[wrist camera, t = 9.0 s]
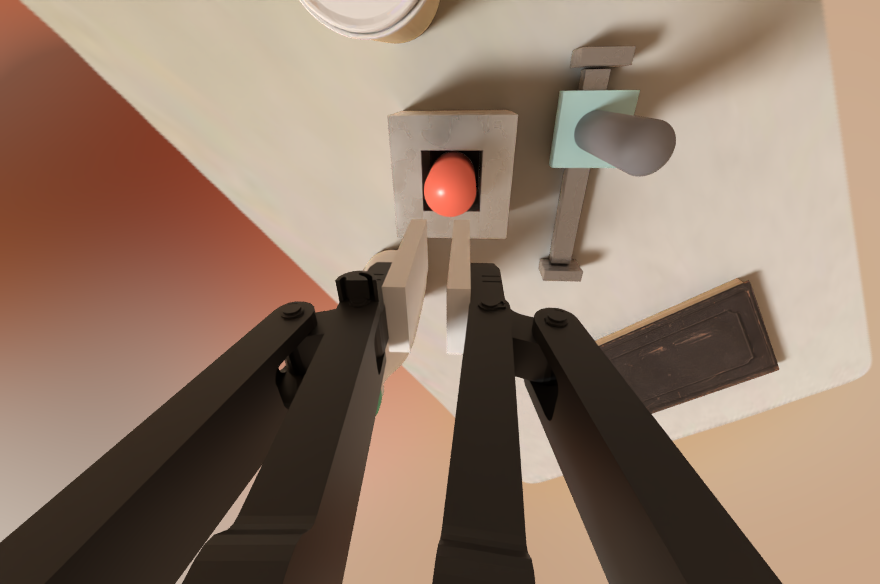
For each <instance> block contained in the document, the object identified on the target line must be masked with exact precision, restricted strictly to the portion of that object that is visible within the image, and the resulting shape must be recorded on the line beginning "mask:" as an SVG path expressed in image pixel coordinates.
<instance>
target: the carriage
mask: <svg viewBox="0 0 880 584" xmlns="http://www.w3.org/2000/svg"><path fill="white" fill-rule="evenodd" d="M639 93H640V90H586V91H560V93H559V100H558V106H557V113H556V120H555V126H554V133H553V140H552V147H551V153H550V160H549V165H550V166H551V167H552V168H618V169H620V170H622V171H624V172H626V173H628V174H630V175H632V176H646V175H649V174H652V173H654V172H656V171H657V170H659V169H660V168H661V167H663V166H664V165H665V164H666V163H667V161H668V160H669V159H670V157H671V155H672V153H673V151H674V148H675V144H676V136H675V132H674V130H673V128H672V127H671V125H670V124H668V123H667V122H665V121H663V120H659V119H653V118H646V117H640V116H634V113H635V109H636V105H637V101H638V97H639Z"/></svg>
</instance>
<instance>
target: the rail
mask: <svg viewBox="0 0 880 584" xmlns="http://www.w3.org/2000/svg"><path fill="white" fill-rule="evenodd" d="M635 48H636V46H610V47H582V48H579V49H576V50H573V51H572V58H571V64H570V68H581V67H620V66H626V65H632V61H633V57H634V52H635ZM610 71H611V69H586V70H581V74H580V80H579V86H578V91H586V90H607V86H608V81H609V76H610ZM589 172H590V168H564V173H563V179H562V185H561V191H560V196H559V202H558V208H557V214H556V220H555V226H554V231H553V237H552V243H551V249H550V255H549V258H550V259H540V262H539V271H540V273H541V276H542V278H543V281H581V278H582V274H583V271H582V269H581V268H580V266H579V264H578V263H577V261H576V260H574V259H571V257H572V253H573V248H574V243H575V238H576V234H577V229H578V224H579V219H580V214H581V210H582V205H583V200H584V195H585V191H586V186H587V181H588V176H589Z"/></svg>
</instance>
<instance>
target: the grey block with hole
mask: <svg viewBox="0 0 880 584" xmlns="http://www.w3.org/2000/svg"><path fill="white" fill-rule="evenodd" d="M517 122H518V114H516V113H514V112H512V111H510V110H433V111H400V112H397V113H394V114H391V115H388V129H389V141H390V153H391V166H392V178H393V190H394V202H395V215H396V227H397V237H404V235H405V232H406V230H407V228H408V225H409V223H410V221H411V219H427V238H452V233H453V224H454V220H470V238H478V239H506V236H507V226H508V215H509V205H510V195H511V184H512V174H513V164H514V153H515V143H516V133H517ZM430 150H480V156H479V178H478V191H476V196H475V200H474V202H473V204H472V206H471V207H470V208H469V209H468V210H467V211H466V212H465V213H463V214H461V215H458V216H455V217H446V216H442V215H439V214H437V213H436V212H434V211H433V210H432V209H431V208H430V207H429V205H428V204H427V202H426V199H425V196H424V185H425V181H426V179H427V177H428V175H429V173H430Z"/></svg>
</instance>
